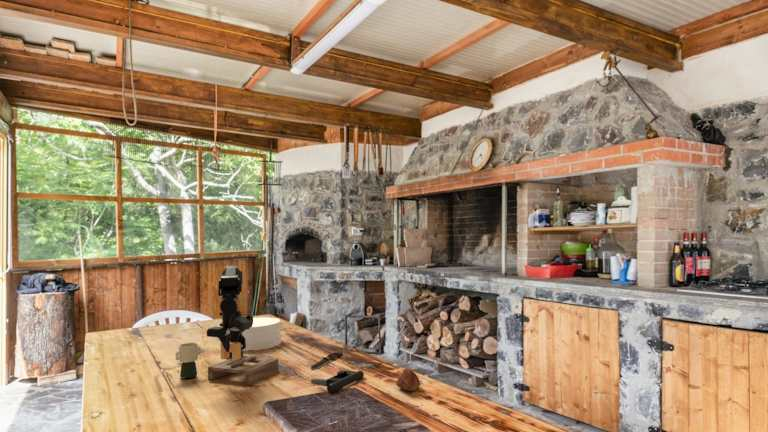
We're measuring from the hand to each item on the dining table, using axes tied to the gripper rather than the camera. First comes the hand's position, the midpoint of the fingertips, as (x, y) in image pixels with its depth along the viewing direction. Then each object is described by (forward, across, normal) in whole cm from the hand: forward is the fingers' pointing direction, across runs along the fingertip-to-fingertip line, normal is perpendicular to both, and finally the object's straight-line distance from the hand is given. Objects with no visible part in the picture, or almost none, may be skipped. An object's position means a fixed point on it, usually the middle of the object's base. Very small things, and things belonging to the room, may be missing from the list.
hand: (230, 350), depth 175 cm
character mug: (+13, +1, +22) cm, 26 cm away
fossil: (+12, +15, -66) cm, 68 cm away
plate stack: (+14, +56, +35) cm, 67 cm away
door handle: (+13, +13, -37) cm, 41 cm away
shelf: (+13, +10, +2) cm, 16 cm away
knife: (+13, +37, -19) cm, 44 cm away
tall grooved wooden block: (+3, 0, 0) cm, 3 cm away
